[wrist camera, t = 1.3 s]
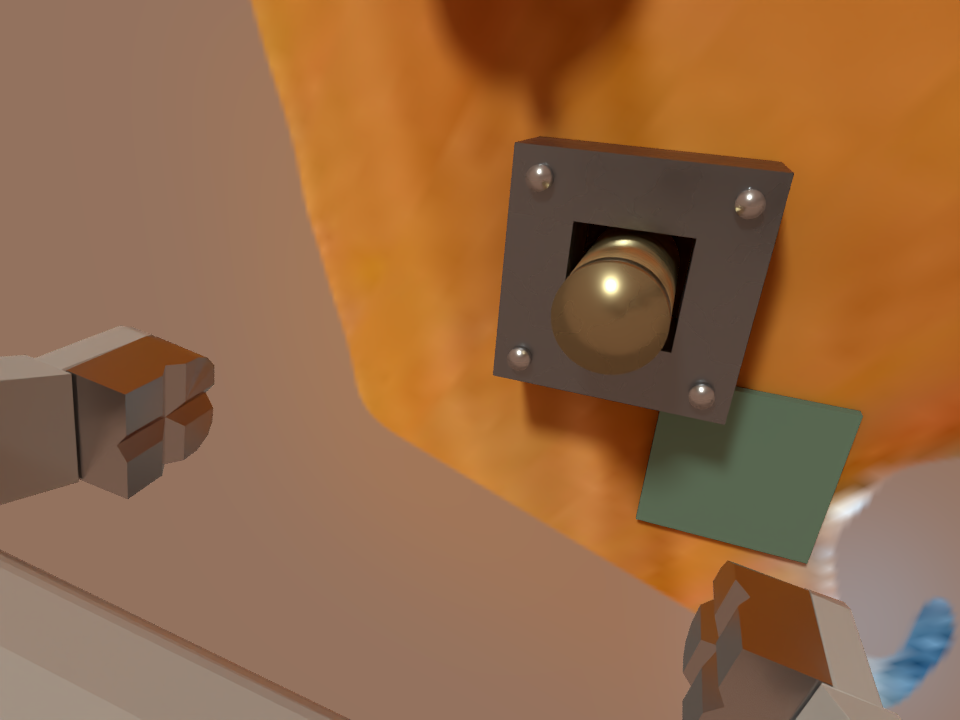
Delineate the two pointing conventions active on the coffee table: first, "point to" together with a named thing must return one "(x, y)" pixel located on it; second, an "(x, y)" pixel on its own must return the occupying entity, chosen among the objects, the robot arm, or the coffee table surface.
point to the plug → (618, 301)
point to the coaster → (750, 472)
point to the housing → (653, 208)
